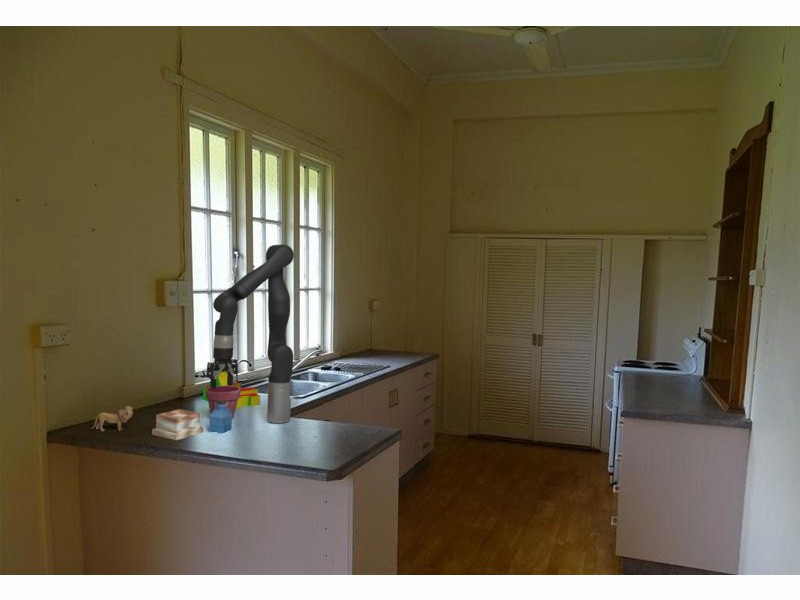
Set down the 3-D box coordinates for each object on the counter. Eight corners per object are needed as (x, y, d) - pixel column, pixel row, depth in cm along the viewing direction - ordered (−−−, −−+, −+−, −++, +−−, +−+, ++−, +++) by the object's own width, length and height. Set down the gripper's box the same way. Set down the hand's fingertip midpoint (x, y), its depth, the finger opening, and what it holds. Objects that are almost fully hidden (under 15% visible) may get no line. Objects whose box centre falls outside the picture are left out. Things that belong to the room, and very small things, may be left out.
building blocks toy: (227, 410, 248) (229, 370, 247) (202, 400, 266) (204, 362, 265) (264, 405, 261) (265, 367, 261) (238, 395, 279) (239, 360, 278)
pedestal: (179, 426, 218) (180, 408, 218) (203, 432, 212) (203, 413, 212) (151, 434, 207) (152, 414, 206) (176, 440, 201) (176, 420, 200)
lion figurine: (133, 427, 215) (133, 404, 215) (131, 430, 210) (132, 407, 210) (91, 428, 210) (91, 405, 210) (88, 432, 205) (88, 409, 205)
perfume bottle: (223, 433, 212) (224, 403, 211) (209, 431, 213) (210, 401, 213) (231, 429, 218) (232, 399, 218) (217, 427, 219) (218, 398, 219)
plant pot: (197, 419, 230) (198, 389, 230) (220, 412, 243) (221, 383, 243) (224, 424, 225) (225, 393, 224) (246, 416, 238) (247, 387, 237)
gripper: (216, 348, 206) (215, 391, 207) (243, 345, 219) (241, 385, 220) (202, 346, 210) (200, 388, 210) (229, 343, 222) (227, 383, 223)
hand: (221, 387), depth 215 cm, fingers open, 8 cm apart
